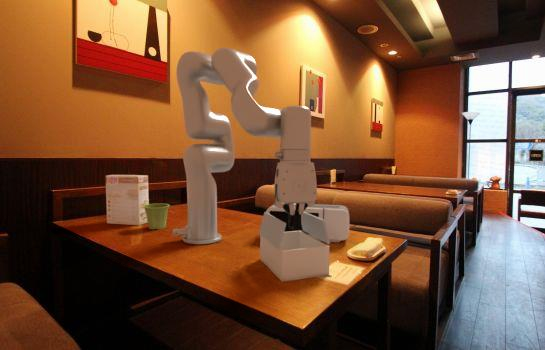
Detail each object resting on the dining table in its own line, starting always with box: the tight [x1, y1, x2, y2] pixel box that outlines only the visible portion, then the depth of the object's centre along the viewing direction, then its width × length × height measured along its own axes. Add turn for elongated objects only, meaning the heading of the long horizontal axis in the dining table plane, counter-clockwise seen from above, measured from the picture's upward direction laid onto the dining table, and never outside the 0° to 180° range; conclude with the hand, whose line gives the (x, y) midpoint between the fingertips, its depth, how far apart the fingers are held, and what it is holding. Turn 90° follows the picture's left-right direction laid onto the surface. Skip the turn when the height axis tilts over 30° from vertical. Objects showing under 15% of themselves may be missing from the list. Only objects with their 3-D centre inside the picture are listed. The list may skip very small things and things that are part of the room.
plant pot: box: [143, 203, 171, 230], centre depth 121 cm, size 9×9×9 cm
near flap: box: [258, 211, 286, 249], centre depth 79 cm, size 6×14×1 cm
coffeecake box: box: [105, 174, 150, 226], centre depth 129 cm, size 15×7×20 cm, turn 77°
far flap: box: [301, 212, 331, 245], centre depth 82 cm, size 6×14×1 cm
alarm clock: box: [265, 203, 350, 243], centre depth 109 cm, size 27×9×12 cm, turn 78°
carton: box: [259, 231, 330, 283], centre depth 81 cm, size 12×16×7 cm
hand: (294, 229), depth 81 cm, fingers closed
